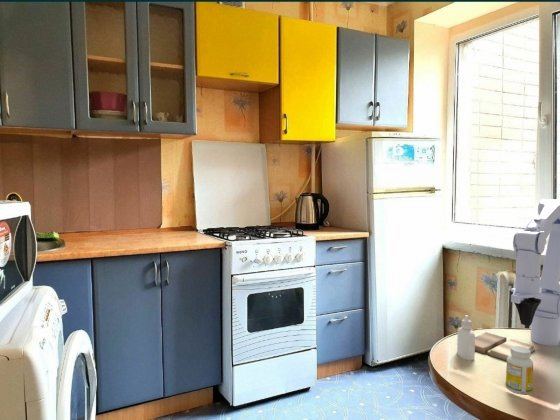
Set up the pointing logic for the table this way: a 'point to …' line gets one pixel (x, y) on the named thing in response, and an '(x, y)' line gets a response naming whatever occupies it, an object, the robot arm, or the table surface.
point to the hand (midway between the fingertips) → (525, 324)
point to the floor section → (488, 342)
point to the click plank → (508, 349)
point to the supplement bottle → (519, 370)
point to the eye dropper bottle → (466, 340)
